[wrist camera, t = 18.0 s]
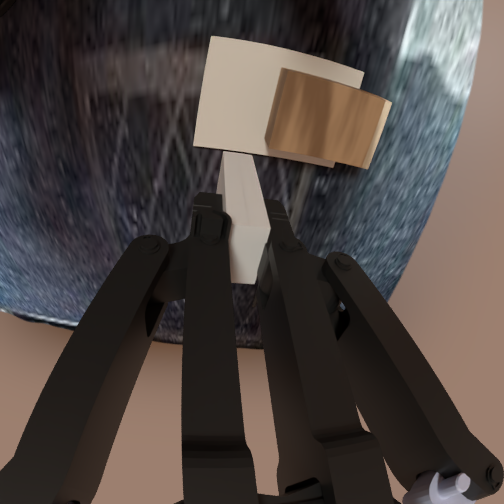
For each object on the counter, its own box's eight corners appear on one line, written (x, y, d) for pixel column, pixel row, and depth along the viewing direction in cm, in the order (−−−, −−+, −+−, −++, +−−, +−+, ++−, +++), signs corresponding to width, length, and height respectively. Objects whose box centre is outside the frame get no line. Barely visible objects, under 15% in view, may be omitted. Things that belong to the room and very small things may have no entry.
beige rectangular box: (268, 148, 35) (367, 169, 38) (288, 70, 29) (392, 102, 32) (264, 137, 38) (356, 157, 41) (281, 67, 32) (378, 95, 35)
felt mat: (193, 144, 38) (193, 145, 38) (211, 36, 29) (211, 35, 29) (331, 166, 42) (333, 167, 42) (362, 71, 33) (364, 72, 33)
